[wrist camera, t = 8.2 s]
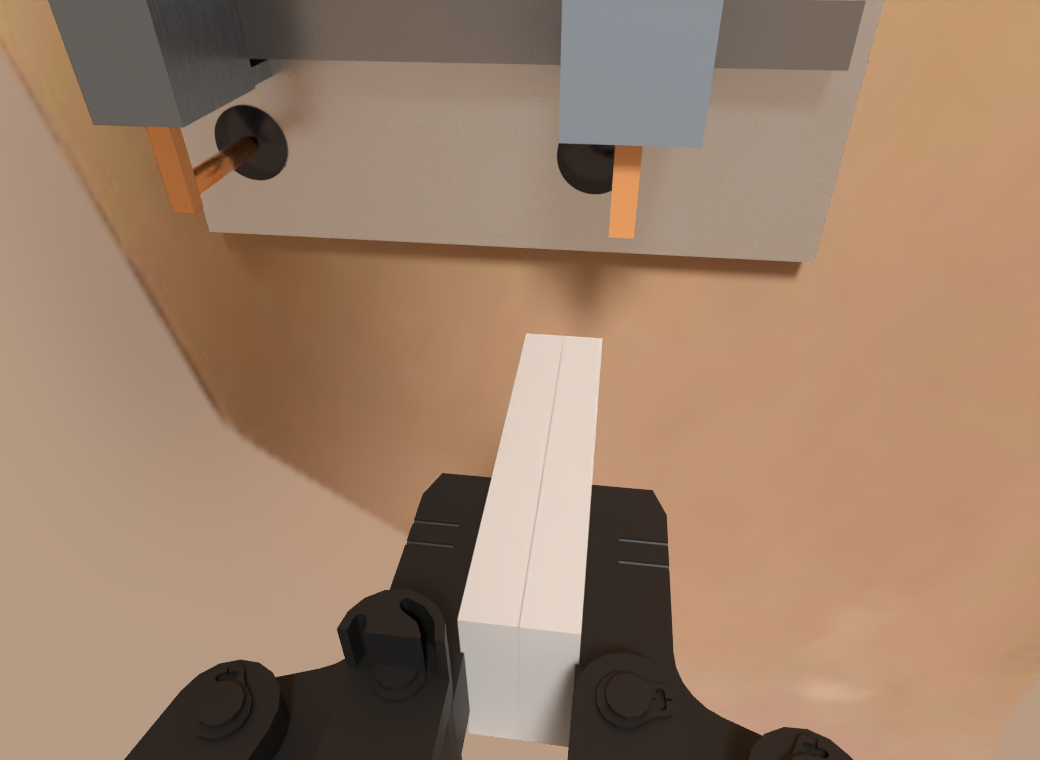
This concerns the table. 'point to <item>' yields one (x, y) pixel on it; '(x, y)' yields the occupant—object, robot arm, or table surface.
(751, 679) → the table surface
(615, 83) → the slider
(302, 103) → the bolt plate
